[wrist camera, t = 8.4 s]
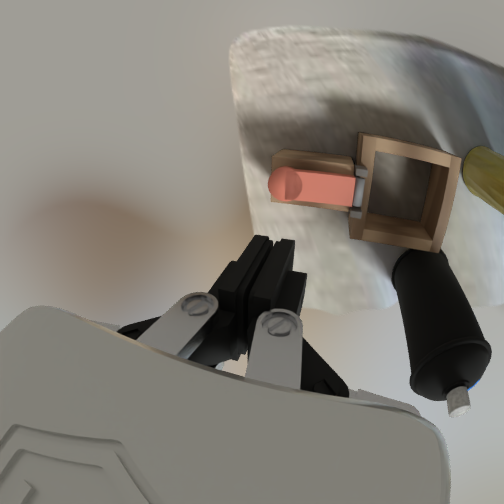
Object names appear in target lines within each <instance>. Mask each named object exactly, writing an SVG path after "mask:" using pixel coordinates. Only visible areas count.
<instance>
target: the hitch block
mask: <svg viewBox="0 0 504 504" xmlns="http://www.w3.org/2000/svg"><path fill="white" fill-rule="evenodd" d="M375 151H379V152H385V153H390V154H395V155H400V156H405V157H409V158H414V159H418V160H422V161H426V162H430V163H432V166H431V172H430V178H429V184H428V189H427V194H426V199H425V203H424V208H423V212H422V217H421V221H420V222H418V221H413V220H408V219H402V218H397V217H391V216H386V215H380V214H374V213H368V212H367V209H368V203H369V196H370V190H371V183H372V175H373V168H374V159H375ZM461 159H462V158H459V157H457V156H455V155H453V154H450V153H448V152H446V151H443V150H440V149H436V148H432V147H429V146H425V145H421V144H417V143H412V142H408V141H404V140H399V139H394V138H389V137H384V136H379V135H373V134H367V133H361V132H358V143H357V154H356V164H355V171H354V164H353V161H352V159H351V157H350V156H343V155H335V154H327V153H319V152H309V151H299V150H287V149H282V150H280V151H279V152H278V153H276V154H275V155H273V156H272V172H271V174H272V173H273V171H274V170H276V169H277V168H279V167H282V166H289V167H292V168H294V169H301V170H311V171H321V172H330V173H338V174H346V175H353V173H354V172H355V173H354V176H355V177H362V178H365V184H364V191H363V198H362V205H361V207H356V206H353V205H352V207H351V206H350V210H349V206H343V205H334V204H326V203H317V202H307V201H297V200H292V201H287V202H285V201H280V200H278V199H276V198H274V197H273V196H272V194H271V202H277V203H286V204H294V205H302V206H310V207H318V208H325V209H332V210H339V211H346V212H348V211H349V218H348V222H349V234H350V239H357V240H363V241H370V242H376V243H382V244H388V245H394V246H400V247H406V248H412V249H418V250H423V251H429V252H435V253H439V251H440V248H441V245H442V242H443V238H444V235H445V232H446V228H447V225H448V221H449V217H450V213H451V209H452V205H453V201H454V196H455V192H456V187H457V182H458V177H459V171H460V165H461Z"/></svg>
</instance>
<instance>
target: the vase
mask: <svg viewBox="0 0 504 504" xmlns="http://www.w3.org/2000/svg"><path fill="white" fill-rule="evenodd" d="M463 178H464V181H465V184H466V186H467V188H468V189H469V191H470V192H471V193H472V194H474V195H475V196H478V197H479V198H481V199H482V200H483V201H485V202H486V203H488V204H489V205H490V206H492V207H493V208H495V209H496V210H498V211H499V212H501V213H502V214H503V215H504V156H502V155H500V154H498V153H496V152H494V151H492V150H491V149H489V148H488V147H485V146H478V147H476V148H474V149H472V150H471V151H470V152H469V153H468V155H467V156H466V158H465V161H464V165H463Z"/></svg>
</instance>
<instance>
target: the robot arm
mask: <svg viewBox="0 0 504 504" xmlns="http://www.w3.org/2000/svg"><path fill="white" fill-rule="evenodd" d="M294 249H295V240H288V239H281V241H280V242H279V241H276V242H275V244H274V246H273V241H272V240H269V237H268V236H261V235H255V236H254V237H253V239H252V240H251V242H250V243H249V244H248V246H247V247H246V249H245V250H244V252H243V253H242V255H241V256H240V257H239V259H238V260H237V261H231V262H230V263H229V264H228V266H227V267H226V268H225V270H224V271H223V272H222V274H221V275H220V276H219V278H218V279H217V281H216V282H215V283H214V285H213V286H212V288H211V289H210V290H209V292H208V293H204V292H195V293H190V294H188V295H185V296H184V297H182V298H181V299H180V300H179V301H178V302H177V303H176V304H174V305H173V306H172V307H171V308H170V309H169V310H168V311H167V312H166V313H165V314H164V315H162V316H160V317H156V318H152V319H148V320H145V321H141V322H137V323H133V324H130V325H127V326H124V327H122V328H121V327H120V326H119V325H113V324H107V323H102V322H96V321H91V320H88V319H86V318H84V317H81V316H79V315H77V314H74V313H72V312H69V311H66V310H63V309H60V308H56V307H51V306H35V307H30V308H28V309H26V310H25V311H23V312H22V313H21V314H20V315H18V316H17V317H16V318H15V319H14V320H13V321H11V322H10V323H9V324H8V325H7V326H6V327H5V328H4V329H3V330H2V331H1V332H0V504H449V503H450V488H451V487H450V486H451V473H450V472H451V471H450V459H449V453H448V447H447V444H446V441H445V438H444V436H443V434H442V433H441V431H440V430H439V429H438V428H437V427H436V426H435V425H434V424H432V423H431V422H429V421H428V420H426V419H424V418H422V417H421V416H420V413H419V411H418V410H417V409H416V408H415V407H414V406H412V405H410V404H407V403H403V402H400V401H396V400H392V399H389V398H386V397H383V396H379V395H376V394H373V393H370V392H367V391H364V390H361V389H358V391H354V390H351V389H348V386H347V385H346V384H345V382H344V381H343V380H342V379H341V378H340V377H339V376H338V375H337V373H336V372H335V371H334V370H333V369H332V368H331V367H330V366H329V365H328V364H327V363H326V362H325V361H324V360H323V359H322V357H321V356H320V355H319V354H318V353H317V352H316V351H315V350H314V349H313V348H312V347H311V346H310V344H309V343H308V342H307V341H306V340H305V339H304V338H303V337H302V333H303V325H302V320H301V319H300V317H299V316H300V312H301V308H302V304H303V299H304V294H305V287H306V280H307V273H302V272H296V271H292V269H293V259H294ZM247 350H248V365H247V370H246V374H245V377H243V376H239V375H236V374H232V373H229V372H225V371H222V368H223V366H224V361H227V360H229V359H232V360H236V361H238V359H239V357H240V355H241V354H244V355H245V354H246V352H247Z"/></svg>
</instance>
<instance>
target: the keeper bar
mask: <svg viewBox="0 0 504 504" xmlns="http://www.w3.org/2000/svg"><path fill="white" fill-rule="evenodd" d="M364 184H365V178H362V177H355V176H354V175H346V174H338V173H330V172H321V171H311V170H301V169H294V168H292V167H289V166H282V167H279V168H277V169H276V170H274V171H273V173H272V174H271V176H270V177H269V180H268V188H269V191H270V193H271V194H272V196H273V197H274V198H276V199H278V200H280V201H285V202H287V201H292V200H297V201H307V202H317V203H326V204H334V205H343V206H351V207H352V205H353V206H356V207H361V205H362V198H363V191H364Z"/></svg>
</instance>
